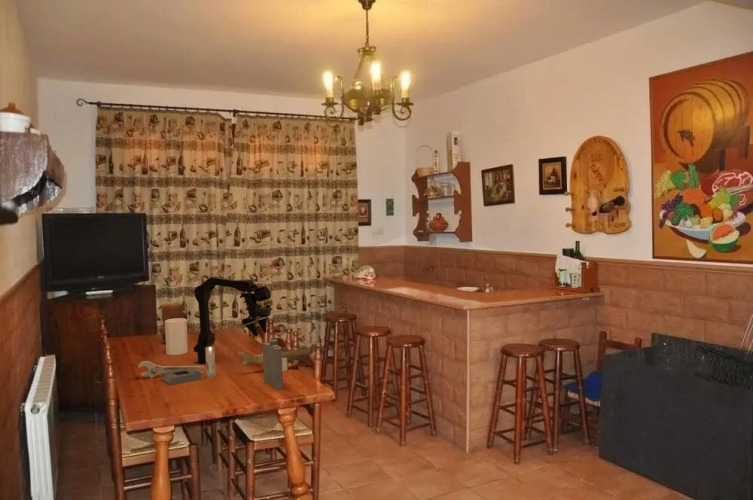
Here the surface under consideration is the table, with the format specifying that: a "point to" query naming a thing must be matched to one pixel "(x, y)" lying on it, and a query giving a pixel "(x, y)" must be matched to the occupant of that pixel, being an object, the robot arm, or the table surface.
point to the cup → (176, 336)
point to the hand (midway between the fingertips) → (261, 334)
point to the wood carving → (286, 357)
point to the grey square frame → (181, 376)
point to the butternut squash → (170, 313)
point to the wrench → (163, 369)
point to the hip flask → (273, 364)
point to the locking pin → (210, 362)
